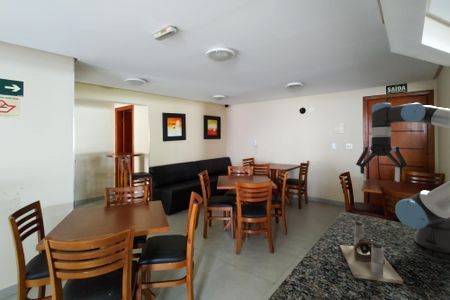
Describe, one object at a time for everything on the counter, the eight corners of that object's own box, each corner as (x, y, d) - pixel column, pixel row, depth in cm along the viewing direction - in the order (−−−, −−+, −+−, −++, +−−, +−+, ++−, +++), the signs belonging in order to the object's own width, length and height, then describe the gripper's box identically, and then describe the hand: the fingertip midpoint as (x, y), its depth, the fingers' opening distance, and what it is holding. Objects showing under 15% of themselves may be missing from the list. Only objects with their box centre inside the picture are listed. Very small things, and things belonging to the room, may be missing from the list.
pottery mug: (393, 270, 76) (385, 252, 75) (365, 278, 79) (357, 262, 77) (373, 245, 88) (366, 230, 86) (350, 253, 90) (343, 238, 88)
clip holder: (376, 251, 91) (377, 222, 90) (403, 285, 70) (404, 248, 69) (339, 247, 95) (339, 219, 94) (354, 278, 74) (354, 243, 73)
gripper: (408, 135, 103) (407, 180, 104) (349, 137, 110) (349, 178, 111) (417, 135, 96) (416, 183, 97) (353, 137, 103) (353, 181, 104)
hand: (380, 180), depth 104 cm, fingers open, 13 cm apart
